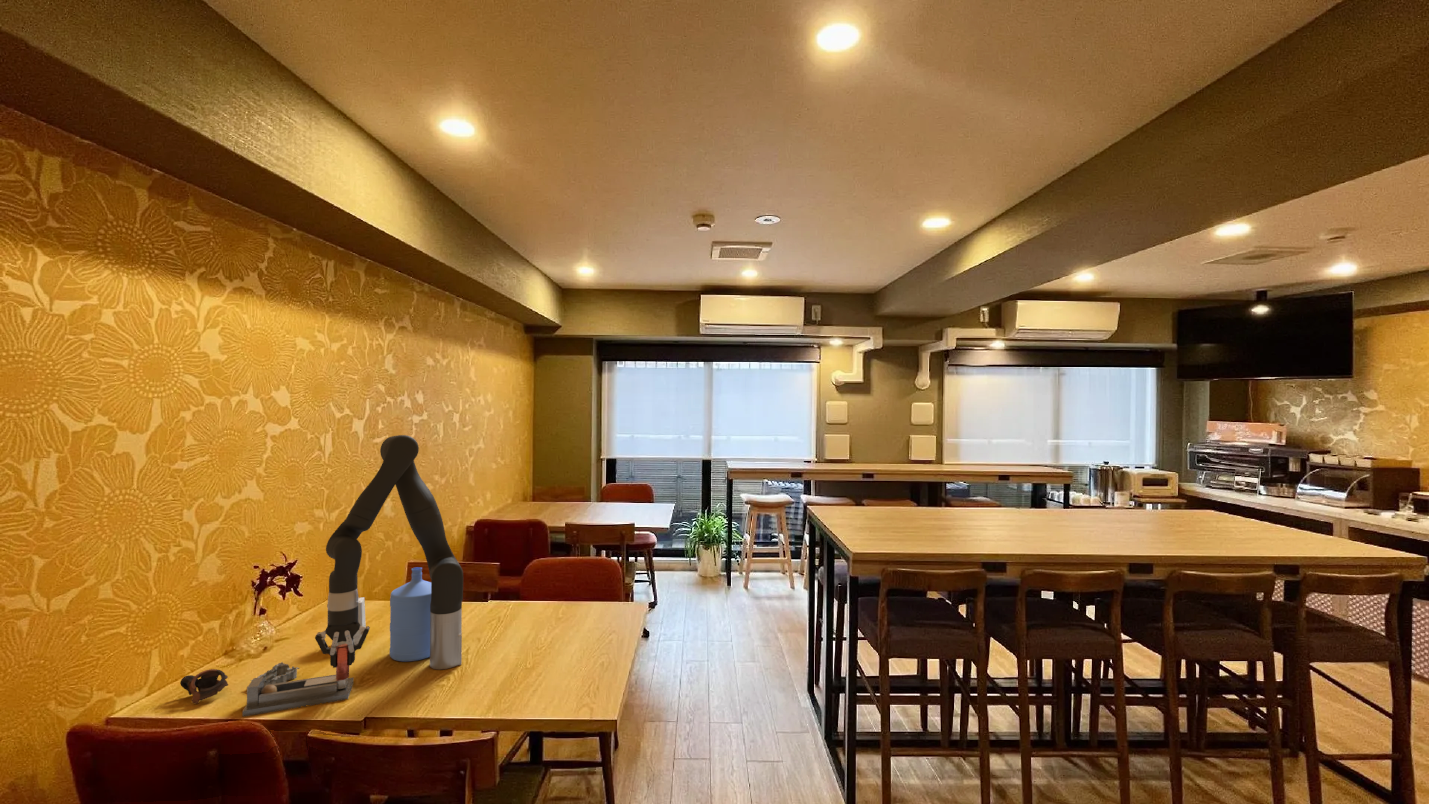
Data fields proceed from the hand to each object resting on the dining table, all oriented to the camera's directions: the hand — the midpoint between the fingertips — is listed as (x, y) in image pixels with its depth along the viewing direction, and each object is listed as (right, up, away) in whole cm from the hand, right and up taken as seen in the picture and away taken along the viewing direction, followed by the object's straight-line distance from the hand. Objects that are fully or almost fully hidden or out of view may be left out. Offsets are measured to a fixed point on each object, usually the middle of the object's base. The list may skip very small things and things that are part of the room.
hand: (342, 665), depth 173 cm
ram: (-3, -6, -1) cm, 7 cm away
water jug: (+8, -8, +27) cm, 30 cm away
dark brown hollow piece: (-37, -8, -3) cm, 38 cm away
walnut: (-16, -6, -7) cm, 18 cm away
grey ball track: (-9, -8, -4) cm, 13 cm away
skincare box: (-18, -8, +35) cm, 40 cm away
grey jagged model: (-23, -8, +6) cm, 25 cm away
